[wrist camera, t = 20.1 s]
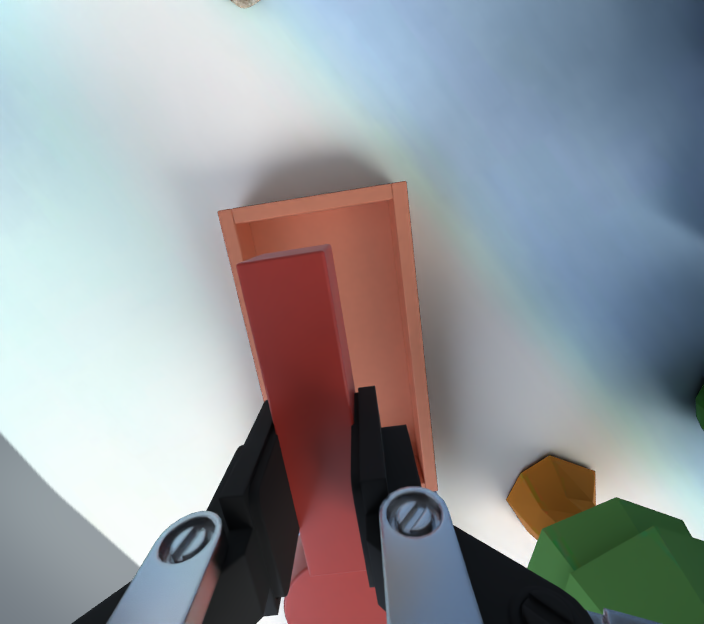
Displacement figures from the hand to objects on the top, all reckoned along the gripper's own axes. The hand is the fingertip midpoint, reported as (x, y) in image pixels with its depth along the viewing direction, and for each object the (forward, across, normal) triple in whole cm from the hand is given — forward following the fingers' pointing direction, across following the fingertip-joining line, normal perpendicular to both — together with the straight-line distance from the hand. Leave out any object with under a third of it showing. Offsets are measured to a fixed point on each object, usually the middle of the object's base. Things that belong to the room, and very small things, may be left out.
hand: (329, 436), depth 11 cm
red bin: (+11, 0, +1) cm, 11 cm away
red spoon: (0, 0, +1) cm, 1 cm away
